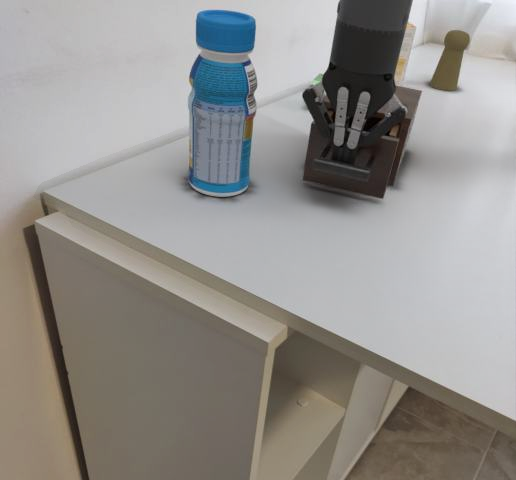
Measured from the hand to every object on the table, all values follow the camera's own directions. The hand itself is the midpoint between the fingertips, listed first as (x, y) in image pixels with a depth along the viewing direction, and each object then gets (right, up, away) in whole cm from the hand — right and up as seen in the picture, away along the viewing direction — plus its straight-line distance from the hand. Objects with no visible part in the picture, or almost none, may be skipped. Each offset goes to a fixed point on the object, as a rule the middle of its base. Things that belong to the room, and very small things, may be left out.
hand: (340, 173), depth 69 cm
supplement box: (+14, +30, +43) cm, 54 cm away
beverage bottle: (-16, 0, +4) cm, 16 cm away
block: (+2, +23, +33) cm, 40 cm away
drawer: (+2, +2, +7) cm, 8 cm away
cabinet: (+5, +7, +15) cm, 18 cm away
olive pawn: (+31, +36, +52) cm, 70 cm away
